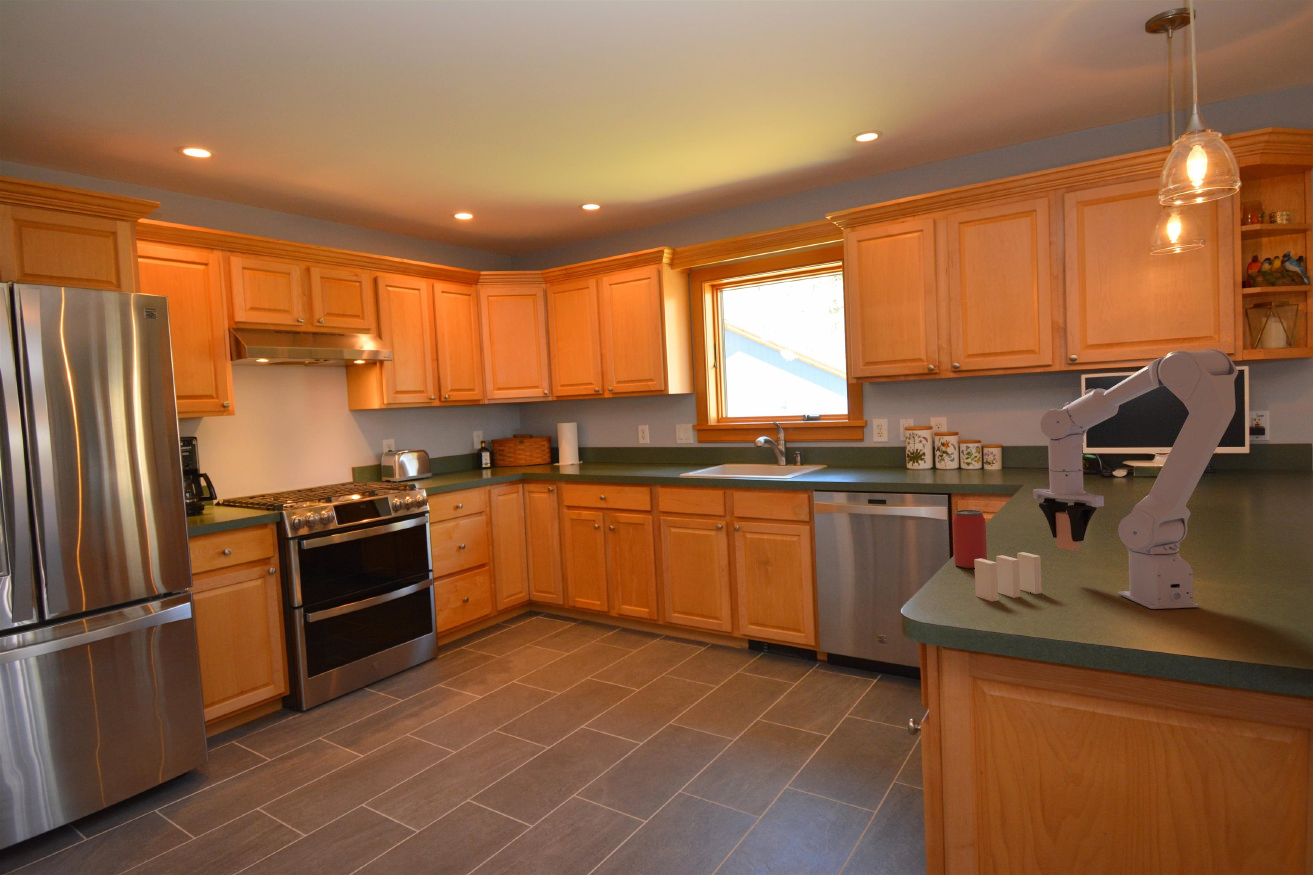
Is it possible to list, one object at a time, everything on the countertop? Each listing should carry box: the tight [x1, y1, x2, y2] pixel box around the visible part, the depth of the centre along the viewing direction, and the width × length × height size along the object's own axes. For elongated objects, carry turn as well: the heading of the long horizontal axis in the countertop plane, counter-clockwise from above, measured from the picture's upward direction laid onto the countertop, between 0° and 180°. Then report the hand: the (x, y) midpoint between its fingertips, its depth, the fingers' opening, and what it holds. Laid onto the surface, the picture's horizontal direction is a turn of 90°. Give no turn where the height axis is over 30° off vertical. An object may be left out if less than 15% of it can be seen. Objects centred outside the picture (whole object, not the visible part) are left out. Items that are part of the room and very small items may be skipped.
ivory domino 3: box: [1016, 551, 1043, 595], centre depth 133 cm, size 2×4×7 cm, turn 17°
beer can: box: [952, 509, 988, 570], centre depth 154 cm, size 7×7×12 cm
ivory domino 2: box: [995, 555, 1021, 599], centre depth 132 cm, size 2×4×7 cm, turn 17°
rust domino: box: [1056, 511, 1081, 552], centre depth 138 cm, size 2×4×7 cm, turn 17°
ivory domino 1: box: [974, 558, 999, 602], centre depth 130 cm, size 2×4×7 cm, turn 17°
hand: (1068, 539), depth 138 cm, fingers closed on rust domino, 4 cm apart
